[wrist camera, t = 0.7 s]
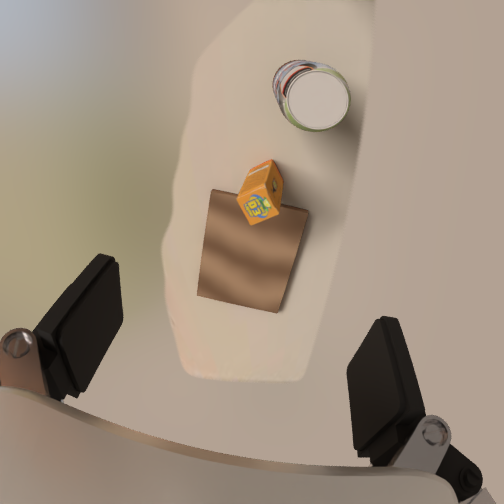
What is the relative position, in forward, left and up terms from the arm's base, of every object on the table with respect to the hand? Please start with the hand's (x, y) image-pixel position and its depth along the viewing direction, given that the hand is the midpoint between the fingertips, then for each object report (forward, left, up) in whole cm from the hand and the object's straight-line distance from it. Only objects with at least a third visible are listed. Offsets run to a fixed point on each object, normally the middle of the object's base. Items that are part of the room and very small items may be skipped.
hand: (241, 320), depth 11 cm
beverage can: (-8, +2, -29) cm, 30 cm away
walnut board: (+14, 0, -28) cm, 32 cm away
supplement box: (+3, 0, -29) cm, 29 cm away
